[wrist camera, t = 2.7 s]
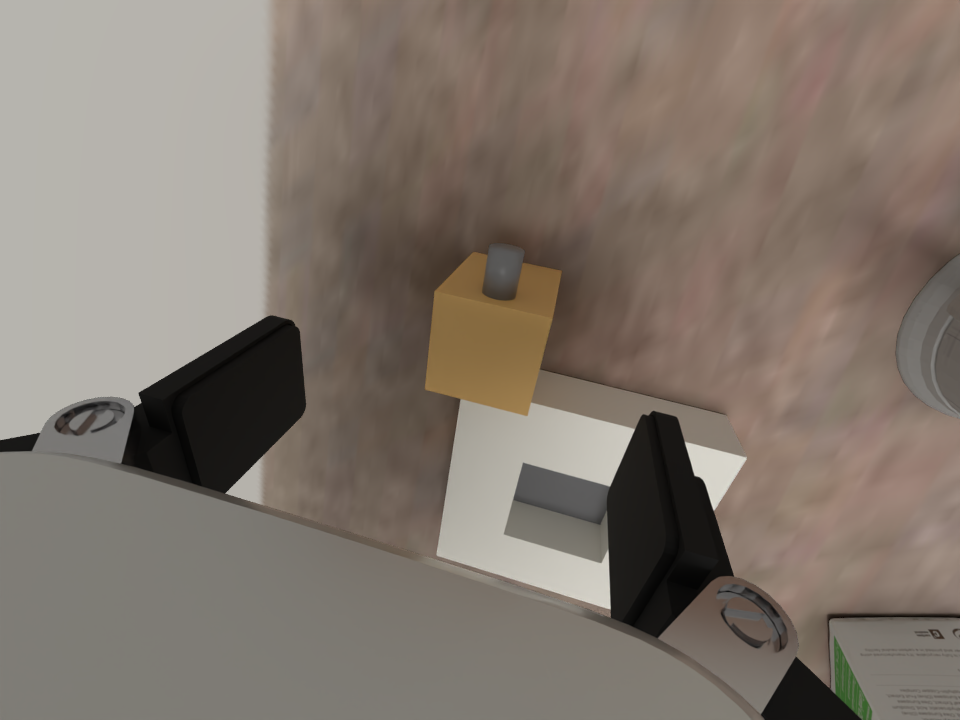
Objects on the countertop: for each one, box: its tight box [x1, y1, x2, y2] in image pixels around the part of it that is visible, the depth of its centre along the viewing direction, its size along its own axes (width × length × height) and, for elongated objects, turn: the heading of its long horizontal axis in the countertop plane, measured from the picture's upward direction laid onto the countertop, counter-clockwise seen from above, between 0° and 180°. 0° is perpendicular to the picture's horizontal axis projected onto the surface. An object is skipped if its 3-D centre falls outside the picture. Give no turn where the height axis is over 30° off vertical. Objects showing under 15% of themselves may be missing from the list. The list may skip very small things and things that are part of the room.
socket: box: [436, 370, 747, 610], centre depth 22 cm, size 12×12×3 cm
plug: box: [425, 243, 562, 416], centre depth 17 cm, size 6×4×6 cm
